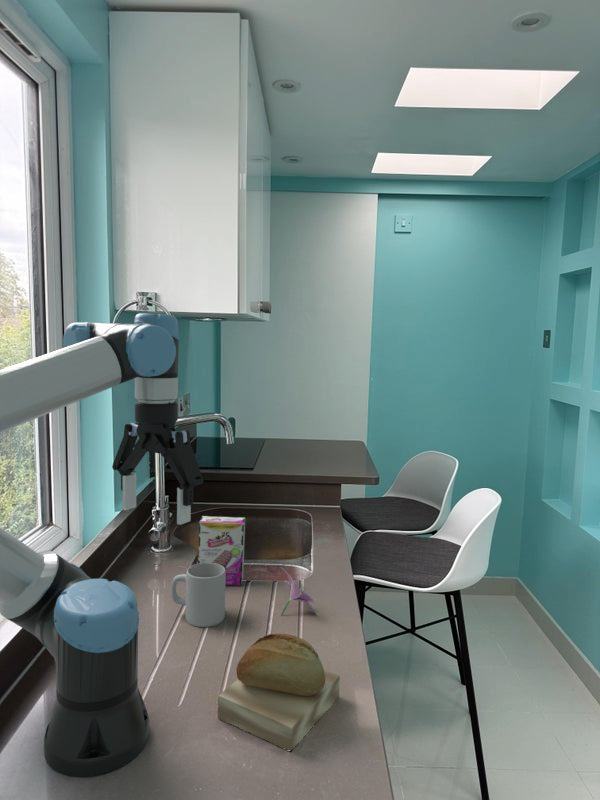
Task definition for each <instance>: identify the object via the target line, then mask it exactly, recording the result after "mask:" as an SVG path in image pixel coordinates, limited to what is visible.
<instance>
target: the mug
mask: <svg viewBox="0 0 600 800" xmlns="http://www.w3.org/2000/svg"><path fill="white" fill-rule="evenodd" d="M179 582H182V583H185V596H184V597H183V596H181V597H180V596H179V595H178V593H177V584H178V583H179ZM170 587H171V588H170V589H171V590H170V592H171V598H172V600H173V602H174V603H175V604H177V605H181V606H185V620H186V622H187V624H189V625H191V626H194V627H198V628H209V627H215V626H217V625H219V624H221V623H222V622H223V621H224V620H225V617H226V586H225V568H224V567H223V566H222V565H219V564H216V563H199V564H198V563H195V564H192V565H191V566H189V567H188V568H187V569H186V573H181V574H177V575H175V576H174V578H173V579H172V582H171V586H170Z"/></svg>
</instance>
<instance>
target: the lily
mask: <svg viewBox="0 0 600 800" xmlns="http://www.w3.org/2000/svg"><path fill="white" fill-rule="evenodd" d="M280 568H281V569H282V571H283V572H284V573H285V575H286V576H287V578H288V580H289V581H287V580H284V583H286V584H287V585H288V586H289V596H290V597H289V600H288V601H287V602H286V605H285V606H284V608H283V610H282V612H281V615H280V616H281V617H283V616H284V613H285V611H286V608H287V606H288V605H289V603H290V602H291V601H298V602H302V603H304V604H306V605H307V606H308V607H309V608H310V609H311V610H312V611H313V612H314V613H315V615H317V612H316V611H315V609H314V608H313V606H312V605H311V603H312V604H313V603H314V604H315V605H318V603H317V602H316V600H314V598H313V597H312V596H311V595H310V594H309V593H308V592H306V591H305V587H303V586H301V588H300V586H299V585H298V584H297V582H295V580H293V577H292V575H290V574H289V573H288V571H286V569H285V568H283V567H282V566H280ZM302 587H303V588H302Z"/></svg>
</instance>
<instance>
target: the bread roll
mask: <svg viewBox="0 0 600 800" xmlns="http://www.w3.org/2000/svg"><path fill="white" fill-rule="evenodd" d="M324 670H325V669H324V666H323V663H322V661H321V659H320V657H319V654H318V652H317V651H316V650H315V648H314V647H313V646H312V644H310V642H308V641H307V640H305V639H303V638H301V637H299V636H295V635H292V634H287V633H270V634H267V635H264V636H262V637H260V638H258V639H257V640H256V641H255V642H254V643H253V644H252V645H250V647H248V648H247V650H246V651H245V652H244V654H243V655H242V656H241V657H240V659H239V661H238V663H237V666H236V678H237V680H238V679H239V681H241V682H242V683H243V684H246V685H249V686H254V687H260V688H265V689H271V690H276V691H283V692H287V693H291V694H296V695H303V696H312V695H315V694H317V693H318V692H319V691H320V690H321V689H322V688H323V687H324V684H325V674H324Z"/></svg>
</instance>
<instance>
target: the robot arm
mask: <svg viewBox="0 0 600 800" xmlns="http://www.w3.org/2000/svg"><path fill="white" fill-rule="evenodd" d="M62 338H63V340H62V348H60V349H57V350H55V351H52V352H49V353H46V354H43V355H40V356H38V357H33V358H31V359H28V360H25V361H23V362H20V363H16V364H13V365H11V366H9V367H5V368H2V369H0V434H2V433H4V432H7V431H9V430H11V429H14V428H16V427H19V426H21V425H24V424H27V423H28V422H31V421H33V420H36V419H38V418H41V417H43V416H46V415H48V414H51V413H53V412H56V411H57V410H60V409H63V408H65V407H68V406H70V405H72V404H75V403H78V402H80V401H82V400H85V399H87V398H89V397H91V396H94V395H96V394H100V393H102V392H104V391H106V390H108V389H112V388H113V387H116V386H119V385H121V384H124V383H126V382H129V381H131V380H134V398H135V399H136V400H137V401H136V402H135V403H134V421H135V422H129V423H125V425H124V429H123V437H122V439H121V441H120V445H119V447H118V450H117V453H116V455H115V457H114V460H113V463H112V464H111V465H112V467H111V468H112V470H114V471H117V472H118V473H119V475H120V490H121V492H122V511H128V510H132V509H135V508H137V473H135V472H136V470H135V469H136V468H137V467H138V465H139V463H141V461H142V459H143V458H144V456H145V455H146V454H147V452H154V453H155V454H160V456H161V457H163V458H164V459H165V460H166V462H167V463H168V465H169V467H170V469H171V471H172V472H173V474H174V476H175V478H176V479H177V481H178V483H179V487H177V488H176V492H177V493H176V494H177V495H176V504H177V505H176V509H177V510H176V524H177V525H179V526H181V525H184V524H186V523H189V522H191V521H192V520H191V519H192V517H191V515H192V513H191V511H192V510H191V509H192V507H191V505H193V504H194V495H195V494H194V493H195V492H194V489H195V486H196V487H197V486H199V485H202V484H203V483H204V479H203V475H202V472H201V470H200V467H199V464H198V461H197V459H196V454H195V452H194V450H193V446H192V444H191V433H190V431H189V430H188V429H186V430H180V431H176V423H177V421H178V418H179V417H178V415H179V413H178V412H179V411H178V409H179V408H178V405H179V403H177V401H175V400H177V399H178V395H179V394H178V393H179V387H178V386H179V343H180V336H179V323H178V318H177V317H176V316H175V315H173V314H164V313H163V314H162V313H137V314H136V315H135V317H134V322H133V323H114V322H113V323H110V322H109V323H108V322H107V323H106V322H105V323H104V322H90V321H85V322H73V323H70V324H68V326H66V328H65V330H64V333H63V337H62ZM0 615H1V616H2V617H3V618H5V619H7V620H9V621H10V622H12V623H14V624H15V625H16V626H19V627H20V628H22V629H23V630H26V631H27V632H28V633H30V634H31V635H33V636H34V637H35V638H37V639H38V640H39V642H41V644H42V645H43V646H44V648H45V649H46V650H47V651H48V652H49V653H50V655H51V656H52V657H53V660H54V662H55V687H56V688H55V689H56V690H55V691H56V693H55V695H56V697H55V699H56V700H55V702H54V705H53V709H52V713H51V717H50V721H48V722H49V723H48V725H47V727H46V729H45V731H44V737H43V752H44V753H43V754H44V758H45V761H46V763H47V764H48V765H49V766H50V768H52V769H53V770H54V771H56V772H58V773H60V774H62V775H63V774H64V775H67V776H69V777H70V776H71V777H93V776H99V775H103V774H107V773H110V772H112V771H115V770H117V769H119V768H121V767H124V766H125V765H127V764H129V762H131V761H133V760H134V759H136V757H137V756H138V755H139V754H140V753H141V752H142V751H143V749H144V748H145V746H146V745H147V742H148V741H149V738H150V716H149V713H148V710H147V707H146V704H145V702H144V701H145V700H144V699H143V697H142V694H141V691H140V689H139V685H138V683H139V682H138V681H139V680H138V679H139V678H138V677H139V676H138V674H139V671H138V670H139V660H138V659H139V657H138V656H139V626H140V625H139V623H140V613H139V610H138V600H137V596H136V595H135V593H134V591H133V590H132V589H131V588H130V587H129V586H128V585H126V584H124V583H122V582H121V581H117V580H112V581H111V580H110V581H109V579H107V578H91V577H90V576H89V575H87V574H86V572H85V571H84V570H83V569H82V568H81V567H79V566H77V565H76V564H74V563H72V562H69V561H67V560H66V559H65V558H63V556H60V555H59V554H57V553H56V552H54V551H52V550H43V551H39V552H37V551H36V550H34V549H33V548H31V547H30V546H28V545H27V544H26V543H24V542H22V541H21V540H20V539H18V538H17V537H15V536H14V535H12V534H11V533H9V532H8V531H6V530H5V529H4V528H2V527H1V526H0Z"/></svg>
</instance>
